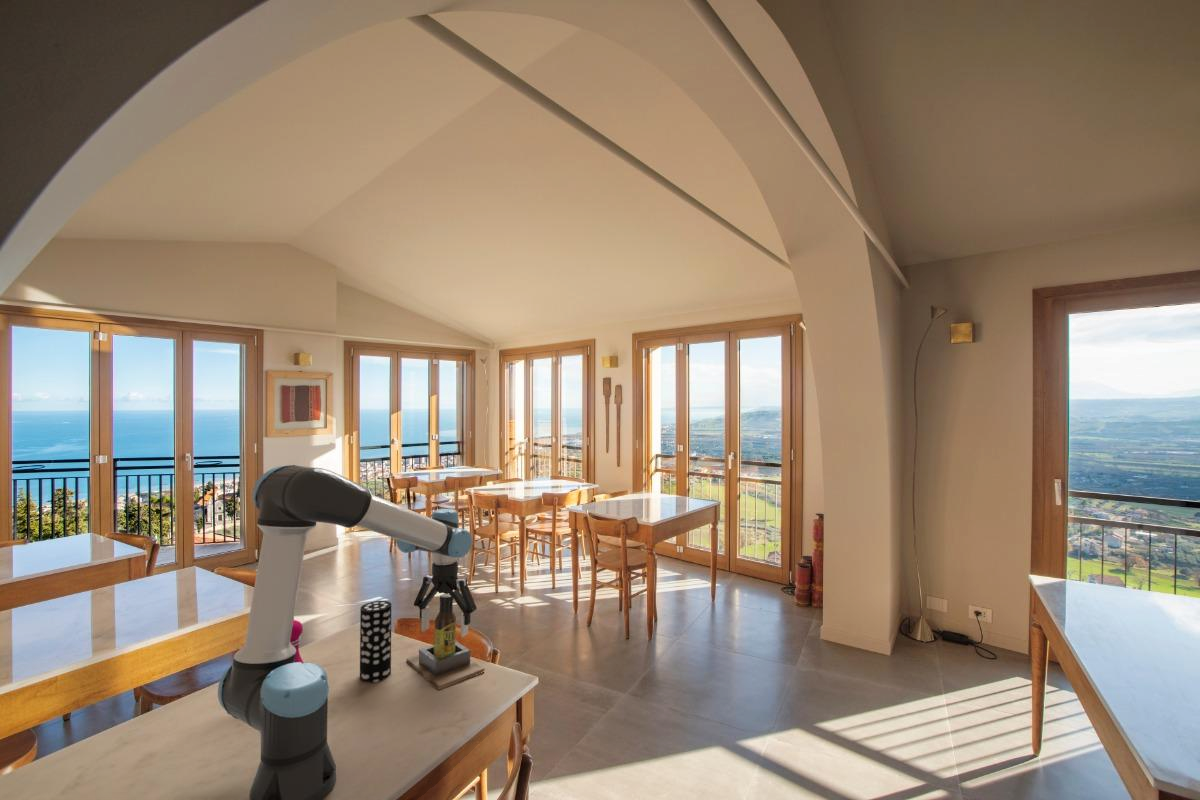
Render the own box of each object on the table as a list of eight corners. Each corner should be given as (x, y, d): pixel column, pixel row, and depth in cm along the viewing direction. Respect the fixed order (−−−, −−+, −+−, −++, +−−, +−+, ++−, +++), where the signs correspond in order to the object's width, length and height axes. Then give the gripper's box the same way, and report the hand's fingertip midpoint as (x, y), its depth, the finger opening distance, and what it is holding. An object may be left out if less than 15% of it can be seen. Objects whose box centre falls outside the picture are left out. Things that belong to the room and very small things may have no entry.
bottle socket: (470, 663, 156) (470, 650, 156) (435, 676, 149) (435, 662, 149) (452, 651, 164) (452, 638, 164) (418, 663, 157) (419, 649, 157)
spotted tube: (359, 671, 153) (360, 603, 154) (390, 666, 157) (390, 599, 157) (359, 685, 146) (360, 613, 146) (391, 678, 149) (392, 608, 150)
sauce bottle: (445, 669, 152) (447, 600, 153) (428, 665, 155) (430, 597, 156) (459, 660, 158) (460, 593, 159) (443, 657, 161) (444, 591, 162)
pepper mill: (290, 696, 140) (291, 621, 140) (267, 693, 142) (268, 619, 142) (310, 683, 147) (311, 611, 148) (288, 680, 149) (289, 609, 149)
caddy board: (484, 672, 153) (484, 668, 153) (439, 689, 144) (439, 685, 144) (448, 647, 169) (448, 644, 169) (406, 661, 160) (406, 658, 160)
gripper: (488, 561, 157) (487, 632, 157) (417, 554, 164) (417, 622, 164) (475, 568, 150) (474, 643, 149) (402, 561, 157) (401, 632, 157)
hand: (444, 632), depth 157 cm, fingers open, 13 cm apart
